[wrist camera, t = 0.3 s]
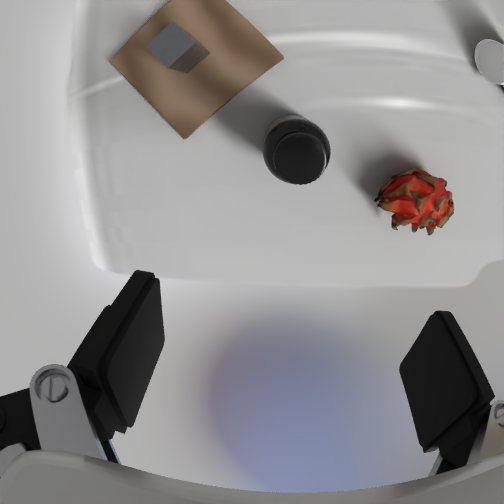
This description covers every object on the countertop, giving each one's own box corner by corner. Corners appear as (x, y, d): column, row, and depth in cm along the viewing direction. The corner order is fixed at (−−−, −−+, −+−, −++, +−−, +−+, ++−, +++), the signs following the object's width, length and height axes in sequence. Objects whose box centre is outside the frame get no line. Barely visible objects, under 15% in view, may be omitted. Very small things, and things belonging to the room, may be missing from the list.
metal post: (191, 34, 27) (172, 21, 21) (210, 53, 28) (195, 42, 22) (168, 54, 29) (145, 46, 23) (187, 73, 30) (167, 68, 24)
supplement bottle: (260, 160, 36) (253, 186, 26) (270, 109, 33) (268, 112, 23) (312, 172, 36) (326, 203, 26) (324, 122, 33) (346, 132, 23)
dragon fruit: (438, 196, 37) (366, 187, 40) (458, 160, 30) (376, 147, 32) (447, 246, 34) (369, 239, 37) (473, 214, 26) (383, 203, 29)
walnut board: (201, -18, 24) (198, -22, 23) (283, 58, 30) (284, 57, 28) (115, 62, 30) (109, 61, 29) (187, 137, 35) (183, 139, 34)
